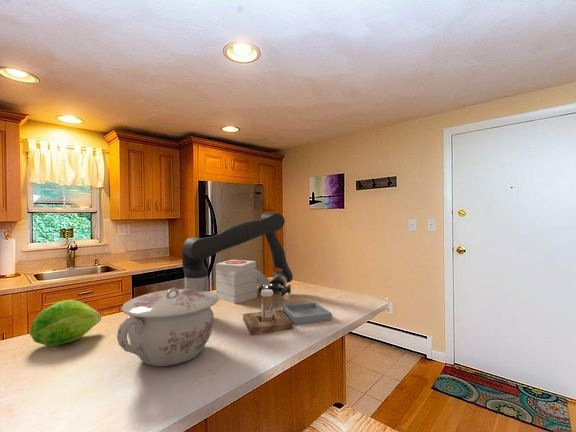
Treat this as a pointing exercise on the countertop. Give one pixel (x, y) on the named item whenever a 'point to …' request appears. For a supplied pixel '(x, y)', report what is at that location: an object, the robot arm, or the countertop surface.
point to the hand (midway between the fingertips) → (272, 293)
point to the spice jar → (267, 305)
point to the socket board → (267, 323)
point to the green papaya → (63, 322)
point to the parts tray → (306, 313)
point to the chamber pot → (167, 325)
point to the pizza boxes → (238, 280)
